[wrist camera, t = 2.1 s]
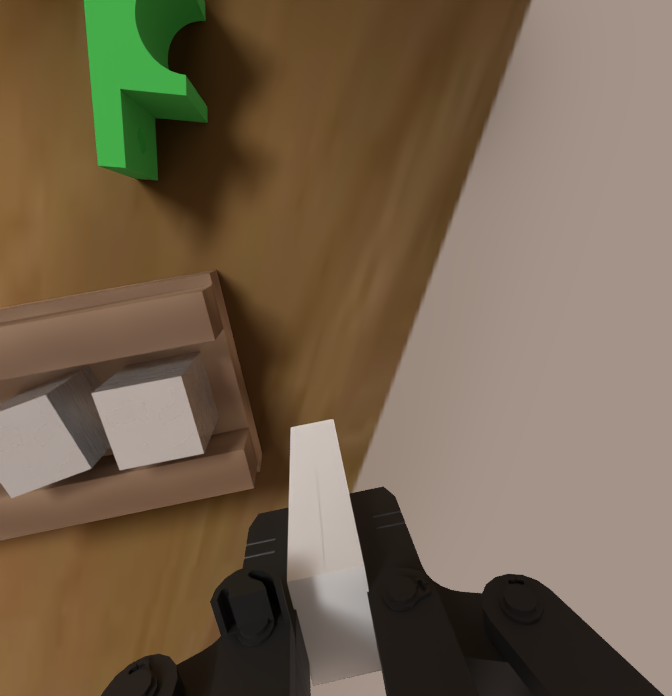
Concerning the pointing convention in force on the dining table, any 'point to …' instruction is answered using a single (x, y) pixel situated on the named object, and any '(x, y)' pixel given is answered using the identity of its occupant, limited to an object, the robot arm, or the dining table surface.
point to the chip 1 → (50, 433)
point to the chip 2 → (157, 410)
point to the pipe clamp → (137, 78)
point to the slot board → (105, 361)
